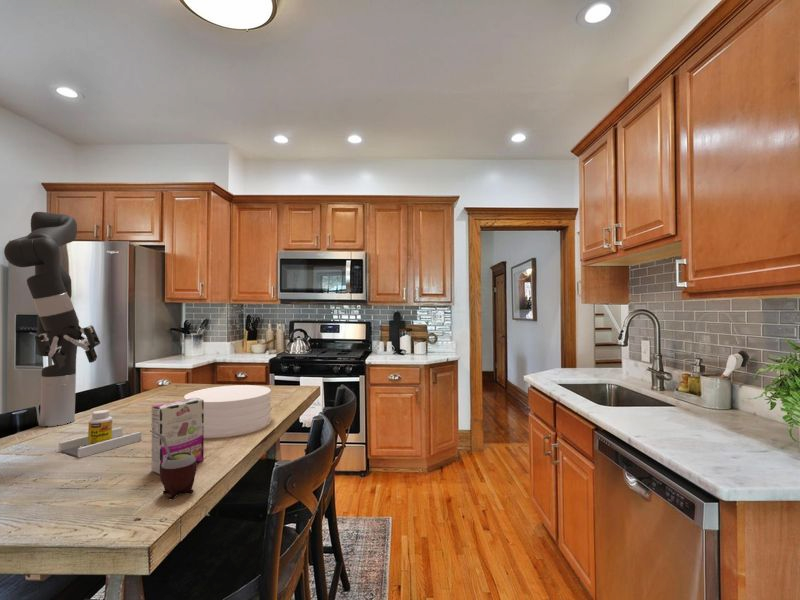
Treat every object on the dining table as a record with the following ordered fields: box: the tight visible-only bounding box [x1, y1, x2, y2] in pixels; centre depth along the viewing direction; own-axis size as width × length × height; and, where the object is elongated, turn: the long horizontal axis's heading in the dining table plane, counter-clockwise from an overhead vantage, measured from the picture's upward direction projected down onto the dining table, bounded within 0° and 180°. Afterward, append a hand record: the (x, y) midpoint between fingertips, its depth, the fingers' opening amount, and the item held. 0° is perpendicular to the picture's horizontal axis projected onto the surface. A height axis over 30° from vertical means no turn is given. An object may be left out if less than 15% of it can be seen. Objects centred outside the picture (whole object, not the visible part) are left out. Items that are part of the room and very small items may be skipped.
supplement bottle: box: [87, 409, 113, 446], centre depth 113 cm, size 6×6×10 cm
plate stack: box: [183, 384, 272, 439], centre depth 135 cm, size 28×28×12 cm
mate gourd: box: [149, 429, 198, 500], centre depth 84 cm, size 8×8×15 cm
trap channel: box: [58, 426, 142, 459], centre depth 113 cm, size 16×11×2 cm
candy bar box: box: [151, 398, 205, 476], centre depth 99 cm, size 11×5×16 cm, turn 148°
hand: (77, 364), depth 109 cm, fingers open, 8 cm apart
